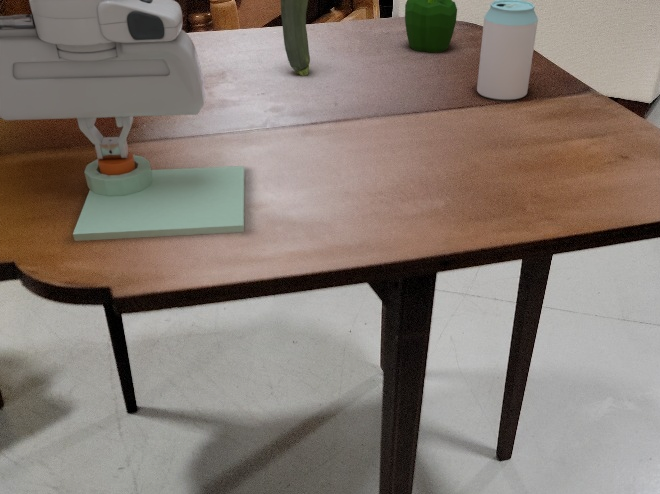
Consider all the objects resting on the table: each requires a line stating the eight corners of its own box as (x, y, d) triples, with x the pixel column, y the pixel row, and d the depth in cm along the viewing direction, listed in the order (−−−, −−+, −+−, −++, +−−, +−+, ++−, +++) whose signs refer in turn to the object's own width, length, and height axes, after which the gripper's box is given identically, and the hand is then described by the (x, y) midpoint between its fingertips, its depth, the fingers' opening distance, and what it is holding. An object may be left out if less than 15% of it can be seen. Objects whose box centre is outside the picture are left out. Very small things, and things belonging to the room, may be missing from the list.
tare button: (98, 181, 76) (94, 165, 74) (103, 166, 78) (100, 151, 77) (134, 179, 76) (130, 163, 75) (138, 165, 79) (135, 149, 78)
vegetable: (281, 79, 109) (272, -76, 96) (287, 70, 112) (279, -81, 100) (310, 80, 108) (305, -75, 96) (316, 72, 112) (311, -80, 99)
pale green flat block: (72, 245, 70) (65, 216, 68) (96, 181, 81) (90, 155, 79) (244, 236, 71) (241, 208, 69) (244, 174, 82) (242, 149, 80)
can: (480, 104, 101) (490, 10, 93) (472, 87, 106) (481, -3, 99) (531, 104, 101) (545, 10, 93) (520, 87, 106) (533, -3, 99)
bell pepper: (398, 44, 124) (400, -21, 117) (445, 42, 125) (450, -23, 119) (410, 59, 117) (413, -10, 111) (459, 56, 118) (465, -12, 112)
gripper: (-45, 24, 64) (1, 173, 72) (192, 20, 66) (210, 165, 74) (-24, 7, 69) (17, 148, 77) (196, 3, 71) (212, 141, 79)
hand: (113, 157), depth 76 cm, fingers closed, pressing on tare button
